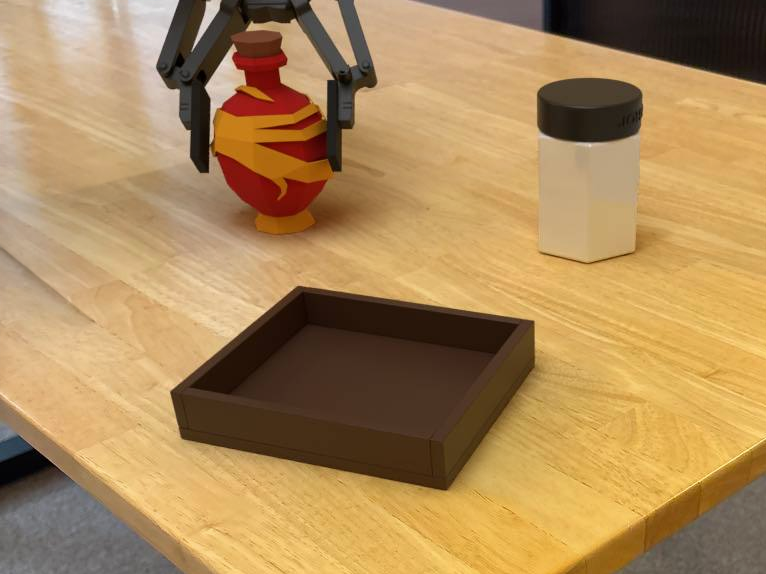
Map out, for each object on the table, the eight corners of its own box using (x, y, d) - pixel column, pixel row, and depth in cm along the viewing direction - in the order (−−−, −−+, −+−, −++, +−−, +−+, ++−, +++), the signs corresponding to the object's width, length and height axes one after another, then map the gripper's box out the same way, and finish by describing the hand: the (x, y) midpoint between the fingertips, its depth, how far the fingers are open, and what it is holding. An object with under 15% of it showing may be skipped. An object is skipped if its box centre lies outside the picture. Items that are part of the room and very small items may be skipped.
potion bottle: (202, 221, 94) (164, 35, 85) (304, 192, 99) (279, 14, 90) (263, 257, 88) (230, 61, 79) (369, 224, 93) (350, 38, 84)
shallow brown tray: (180, 438, 66) (169, 391, 64) (304, 327, 78) (297, 284, 76) (446, 490, 62) (442, 441, 60) (535, 364, 73) (534, 320, 71)
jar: (639, 264, 86) (647, 108, 79) (536, 264, 86) (535, 108, 79) (632, 221, 93) (640, 75, 86) (538, 221, 93) (537, 75, 86)
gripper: (411, -58, 94) (412, 184, 91) (149, -56, 94) (142, 187, 91) (402, -121, 87) (402, 140, 84) (117, -120, 86) (108, 143, 84)
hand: (267, 164), depth 88 cm, fingers closed on potion bottle, 10 cm apart
